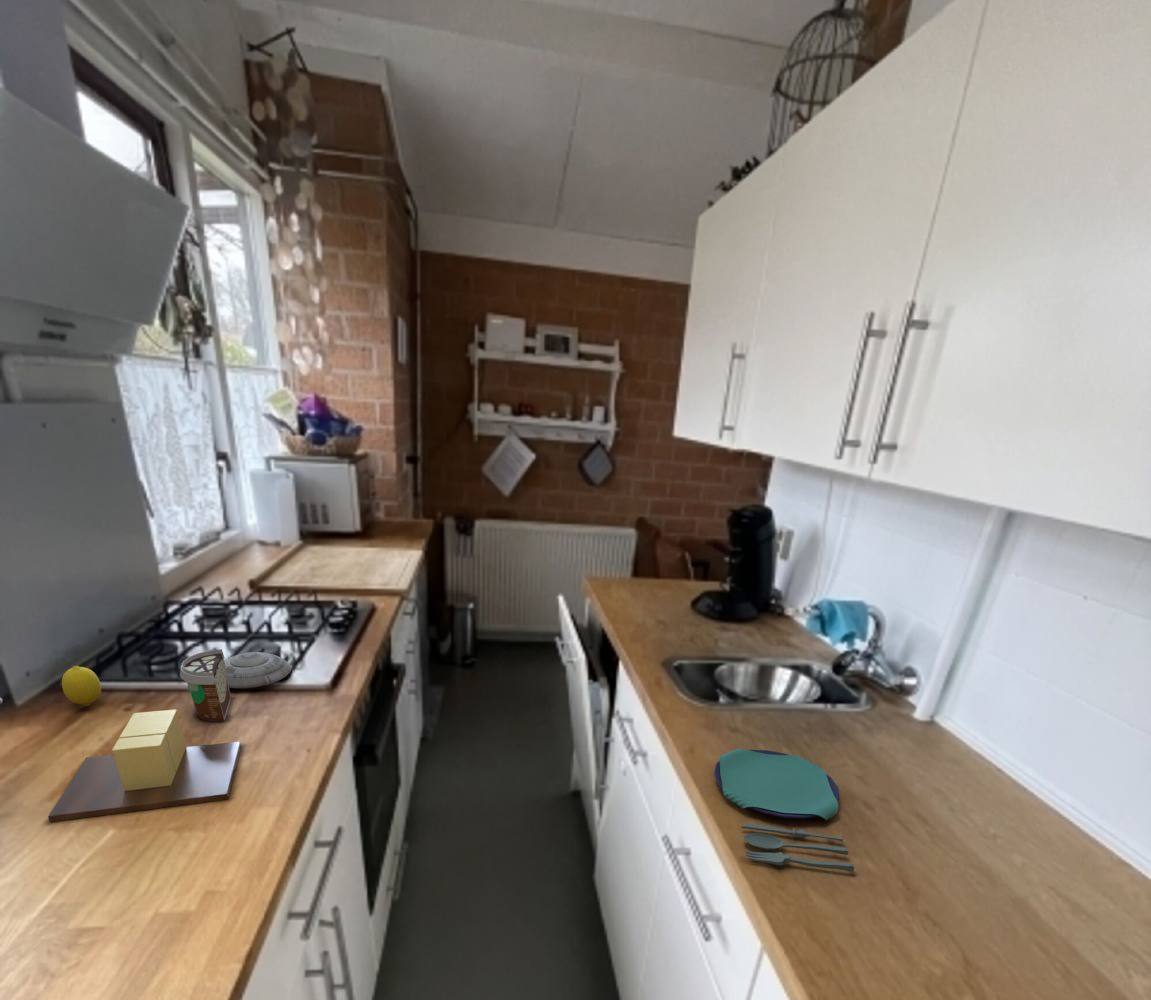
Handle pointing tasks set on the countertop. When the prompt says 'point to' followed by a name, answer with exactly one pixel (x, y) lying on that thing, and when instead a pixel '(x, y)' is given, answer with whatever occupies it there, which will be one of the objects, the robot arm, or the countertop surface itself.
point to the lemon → (81, 685)
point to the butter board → (103, 793)
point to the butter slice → (144, 762)
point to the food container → (208, 684)
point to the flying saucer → (255, 669)
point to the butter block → (159, 730)
